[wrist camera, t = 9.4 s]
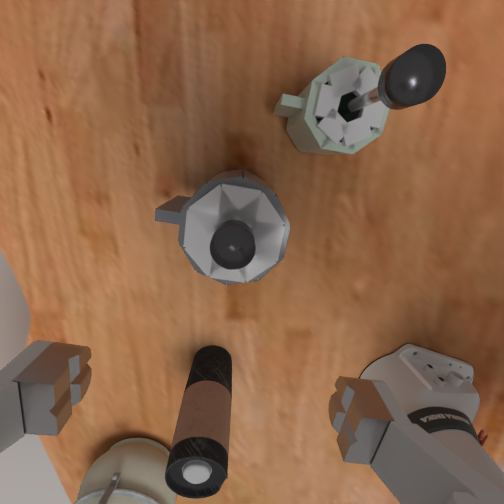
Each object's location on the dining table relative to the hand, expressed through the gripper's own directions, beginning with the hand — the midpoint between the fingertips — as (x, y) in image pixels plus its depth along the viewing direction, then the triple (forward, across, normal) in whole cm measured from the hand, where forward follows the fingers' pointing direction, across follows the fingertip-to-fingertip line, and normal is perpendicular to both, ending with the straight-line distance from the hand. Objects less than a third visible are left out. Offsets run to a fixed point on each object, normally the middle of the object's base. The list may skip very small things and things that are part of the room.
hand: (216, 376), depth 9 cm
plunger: (+26, 0, 0) cm, 26 cm away
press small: (+35, -8, -13) cm, 38 cm away
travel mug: (+35, 0, +30) cm, 46 cm away
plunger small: (+21, -9, -13) cm, 26 cm away
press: (+35, +1, 0) cm, 35 cm away
